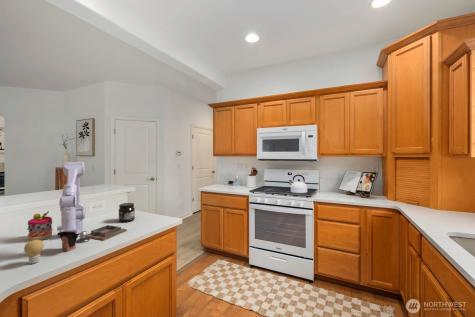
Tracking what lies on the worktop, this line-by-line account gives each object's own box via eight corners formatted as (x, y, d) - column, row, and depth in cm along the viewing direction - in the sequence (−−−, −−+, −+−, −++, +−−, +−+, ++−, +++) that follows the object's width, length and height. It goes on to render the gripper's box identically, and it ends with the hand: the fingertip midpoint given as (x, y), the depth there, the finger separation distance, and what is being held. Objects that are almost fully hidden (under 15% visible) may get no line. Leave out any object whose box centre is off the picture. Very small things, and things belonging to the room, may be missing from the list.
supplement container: (120, 219, 160) (120, 203, 159) (135, 217, 163) (135, 202, 163) (117, 223, 150) (116, 206, 149) (133, 222, 153) (133, 205, 152)
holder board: (84, 237, 125) (84, 232, 125) (108, 228, 141) (108, 223, 141) (103, 240, 121) (103, 235, 121) (126, 230, 136) (126, 226, 136)
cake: (25, 243, 117) (24, 215, 116) (30, 236, 126) (30, 211, 125) (50, 239, 122) (50, 212, 122) (54, 233, 131) (53, 208, 131)
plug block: (62, 250, 108) (61, 236, 108) (70, 247, 112) (70, 234, 112) (67, 251, 107) (67, 237, 107) (75, 248, 111) (75, 235, 111)
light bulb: (47, 258, 100) (47, 237, 100) (35, 266, 93) (34, 243, 93) (33, 258, 100) (33, 237, 99) (20, 266, 93) (19, 243, 93)
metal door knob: (73, 242, 118) (73, 233, 118) (84, 238, 124) (84, 229, 124) (81, 243, 116) (81, 234, 116) (92, 239, 122) (92, 230, 122)
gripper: (50, 220, 108) (50, 246, 108) (70, 223, 103) (70, 251, 103) (65, 216, 114) (65, 241, 115) (84, 219, 110) (85, 245, 110)
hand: (69, 245), depth 109 cm, fingers closed on plug block, 4 cm apart
